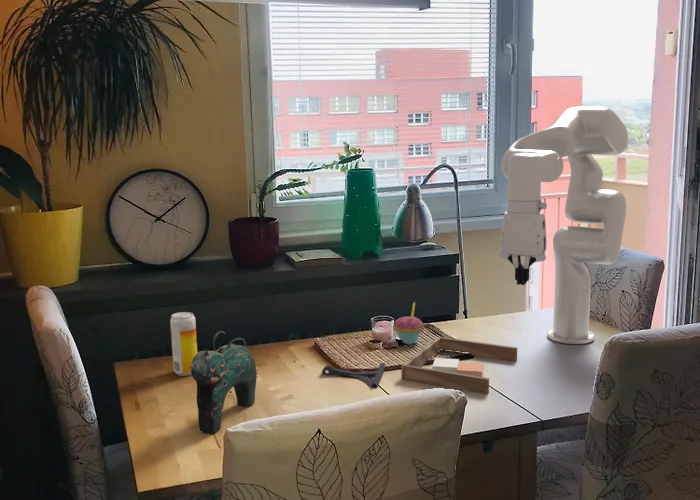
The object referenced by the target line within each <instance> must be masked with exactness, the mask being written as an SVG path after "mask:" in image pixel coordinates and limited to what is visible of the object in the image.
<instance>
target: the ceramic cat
mask: <svg viewBox="0 0 700 500" xmlns="http://www.w3.org/2000/svg"><path fill="white" fill-rule="evenodd" d="M220 334H222V335H223V336H225V335H226V333H225V331H223V330H219V331H217V332H216V333H215V334H214V336H213V340H212V347H213V350H214V351H213V350H200V351H197V354H196V355H195V356H194V358H193V360H192V364H191V374H192V375H191V377H192V379H193V380H194V381H195V382H196V404H197V405H196V406H197V413H198V414H197V416H198V428H199V432H200V433H203V434H209V435H215V434H216V433H217V432H219V431H220V430H221V427H222V425H221V423H222V417H223V416H222V414H223V409H224V405H225V401H226V397H227V395H228V393H229V392H230V390H231V389H232V388H233V389H234V393H235V394H234V395H235V398H236V405H237V407H243V408H249V407H252V406H253V405H254V404H255V402H256V401H255V399H256V388H257V387H256V386H257V378H258V377H257V367H256V362H255V359H254V356H253V354H252V352H251V350H250V349H249V348H248V345H247V341H246V340H245V339H244V338H243V337H242V338H241V337H237V338H234V339H232V340H231V341H230V342H229V343H228V344H225V345H223V346H221V347H219V348H218V349H217V350H216V342H215V341H216V339H217V337H218V335H220ZM237 341H242V342H243V344H244V345H240V344H234V343H233V342H237Z"/></svg>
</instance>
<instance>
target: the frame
mask: <svg viewBox="0 0 700 500" xmlns="http://www.w3.org/2000/svg"><path fill="white" fill-rule="evenodd" d="M440 349H443V350H451V351H460V352H470V353H472V354H473V355H472V356H475V357H481V358H483V357H484V358H489V359H496V360H503V361H509V362H517V361H518V347H516V346H509V345H502V344H495V343H488V342H482V341H481V342H480V341H474V340H465V339H461V338H460V339H458V338H453V337H452V338H451V337H444V336H438V337H436V338H435V339H434V340H433V341H431V342H430V343H428V344H427V345H426V346H425V347H424V348H422V349H421V350H419V351H418V352H417V353H416V354H415V355H413V356H412V357H411V358H409V359H408V360H407V361H406V362H404V363H402V365H401V380H403V381H408V382H413V383H422V384H427V385H432V386H438V387H442V388H443V387H444V388H449V387H450V388H449V389H456V390H461V391H468V392H473V393H479V394H486V395H489V393H490V378H489V377H484V376H483V377H479V376H473V375H466V374H460V373H454V372H448V371H441V370H435V369H433V368H427V367H423V366H424V365H426V363H427V362H426V361H427V360H428V359H429V358H431V357H432V356H433V355H434V354H436V353H437V352H438V351H439V350H440ZM437 354H438V353H437ZM437 354H436V355H437ZM431 359H432V358H431Z"/></svg>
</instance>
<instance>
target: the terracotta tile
mask: <svg viewBox="0 0 700 500" xmlns="http://www.w3.org/2000/svg"><path fill="white" fill-rule="evenodd" d="M484 364H485V363H484V362H473V361H472V362H469V361H459V364H458V367H457V373H460V374H466V375H473V376H479V377H484V369H485V368H484V367H485V366H484Z"/></svg>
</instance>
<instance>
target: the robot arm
mask: <svg viewBox="0 0 700 500" xmlns="http://www.w3.org/2000/svg"><path fill="white" fill-rule="evenodd" d="M628 143H629V132H628V129H627V126H626V125H625V124H624V122H623V121H622V120H621V119H620V117H619V116H618V115H617V113H615V112H614V110H613V109H610V108H608V107H605V106H574V107H569V108H566V109H565V110H563V111H562V112H561V114H559V116H558V117H557V118H556V119H555V120H554V121H553V122H552V123H551V124H550V125H549V126H548V127H547V128H544V129H540V130H539V131H536V132H532V133H531V134H528V135H525V136H523V137H521V138H518V139H517V140H516V141H515V142H514V143H512V145H510V146H509V148H508V149H507V150H506V151H505V153H504V155H503V157H502V160H501V168H500V169H501V172H502V174H503V176H504V177H505V178H506V179H507V193H506V195H507V196H506V198H507V201H506V202H507V203H506V206H507V207H506V211H505V212H504V213H503V218H502V223H501V230H500V239H499V240H500V241H499V248H500V249H499V250H500V253H499V257H500V258H502V259H504V260H508V261H509V263H510V264H512V266H513V268H514V280H515V281H516V285H517V286H519V285H521V286H525V285H526V284H527V282H529V280H530V267H531V266H532V265H533V264H534V263H539V262H544V261H545V260H546V259H547V256H546V251H547V242H548V241H547V226H546V219H545V212H541V211H542V210H544V209H545V210H546V209H547V207H548V206H547V205H548V204H547V203H546V202H543V201H542V199H541V195H542V194H541V192H542V190H541V189H542V183H553V182H555V181H557V180H558V178H560V177H561V175H562V173H563V170H564V159H563V158H564V157H567V160H568V163H569V167H570V177H569V178H570V179H569V183H568V188H567V190H568V191H567V194H566V200H565V208H564V214H565V217H566V219H568V221H571V222H574V223H580V224H592V225H603V228H599V227H597V228H596V227H587V226H575V225H573V226H572V225H570V226H569V225H568V226H562V227H560V228H558V229H557V230H556V231H555V233H554V235H553V238H552V249H553V255H554V265H555V271H554V273H555V276H554V278H555V279H554V301H553V302H554V303H553V328H551V329H549V330H547V333H546V334H547V337H548V339H549V340H551V341H553V342H557V343H561V344H566V345H585V344H588V343H591V342H593V341H594V340H595V334H594V333H593V332H592V331H590V330H589V328H590V327H589V326H590V309H591V291H592V290H591V286H592V285H591V284H592V278H591V277H592V276H591V274H590V271H589V269H588V268H587V266H586V265H585V264H586V263H587V264H597V265H605V266H606V265H608V266H609V265H613V264H614V263H616V261H617V260H618V258H619V255H620V250H621V247H622V246H621V245H622V239H623V233H624V227H625V221H626V215H627V214H626V213H627V201H626V196H625V195H624V194H623V192H620V191H618V190H614V189H602V183H603V176H604V173H603V170H602V167H601V165H600V164H599V163H598V161H597V160H596V158H595V157H594V156H593V155H600V156H601V155H603V156H604V155H605V156H607V155H609V156H616V155H620V154H622V153H623V152H624V151H625V150H626V148H627V147H628ZM521 256H522V257H524V260H523V264H522V257H521Z"/></svg>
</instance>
